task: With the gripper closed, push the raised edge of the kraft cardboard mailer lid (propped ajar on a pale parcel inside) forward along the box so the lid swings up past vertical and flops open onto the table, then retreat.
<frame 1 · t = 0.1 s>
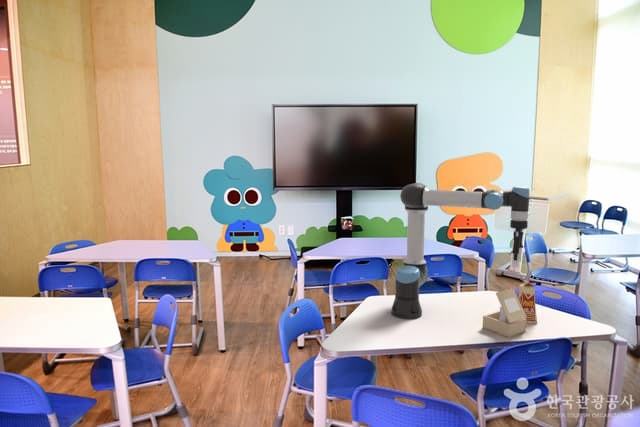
hand: (516, 264, 230), 28 cm above the table, fingers open, 13 cm apart
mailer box: (503, 330, 221), on the table
lid: (511, 305, 217), point 13 cm above the table, hinge at 57.0°
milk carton: (525, 319, 236), on the table
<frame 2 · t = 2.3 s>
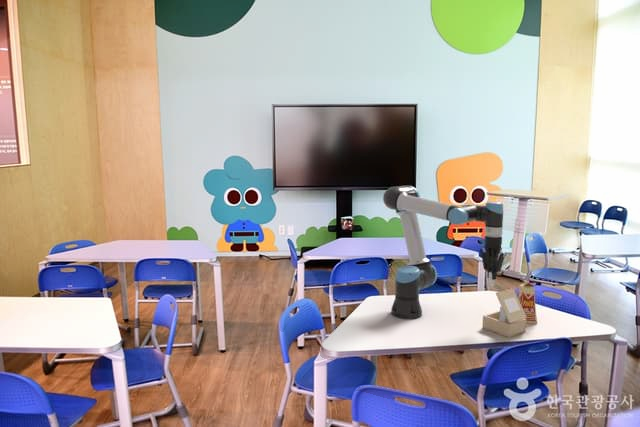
hand: (491, 285, 225), 19 cm above the table, fingers closed
nothing on the table moved.
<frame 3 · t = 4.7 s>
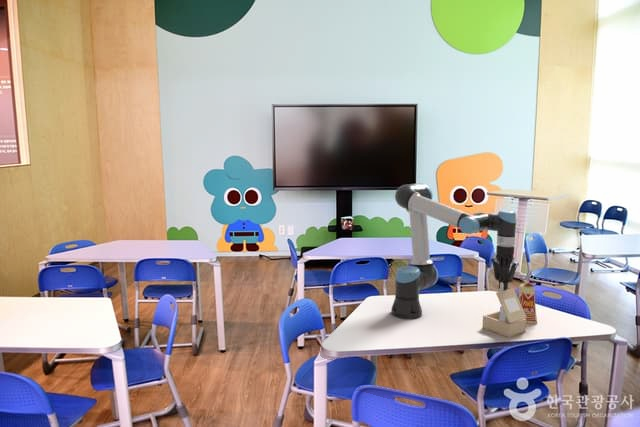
hand: (502, 296, 221), 16 cm above the table, fingers closed
lid: (511, 305, 217), point 13 cm above the table, hinge at 57.7°, touching gripper
everything else where it was.
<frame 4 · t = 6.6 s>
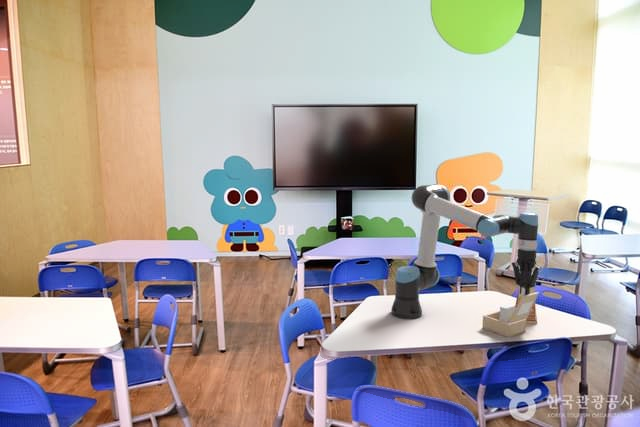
hand: (524, 301, 212), 16 cm above the table, fingers closed
lid: (524, 307, 212), point 13 cm above the table, hinge at 110.7°, touching gripper
everything else where it was.
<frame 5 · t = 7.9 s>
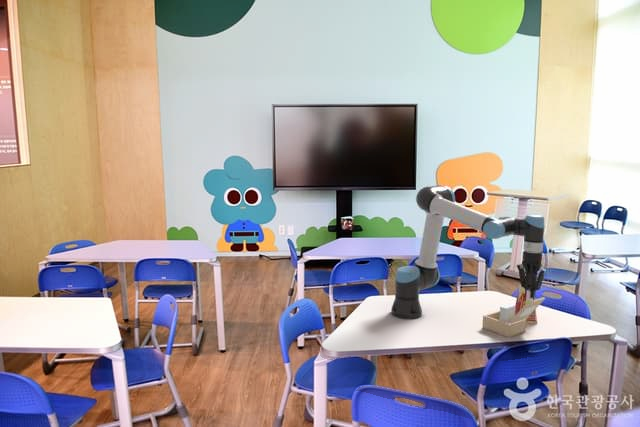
hand: (529, 304, 210), 15 cm above the table, fingers closed
lid: (527, 310, 211), point 12 cm above the table, hinge at 125.1°, touching gripper
everything else where it was.
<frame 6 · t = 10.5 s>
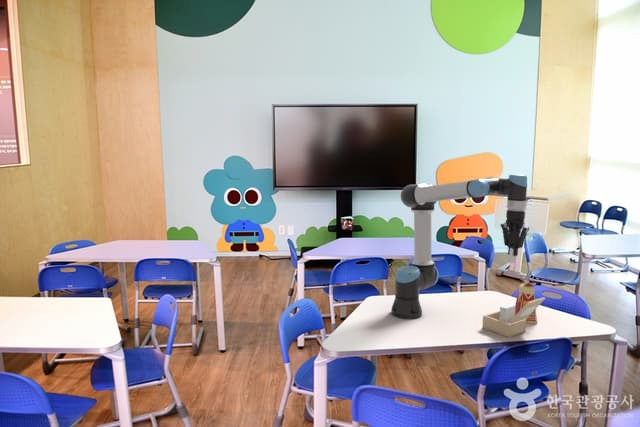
hand: (512, 262, 215), 32 cm above the table, fingers closed
lid: (527, 310, 211), point 12 cm above the table, hinge at 125.2°
everything else where it was.
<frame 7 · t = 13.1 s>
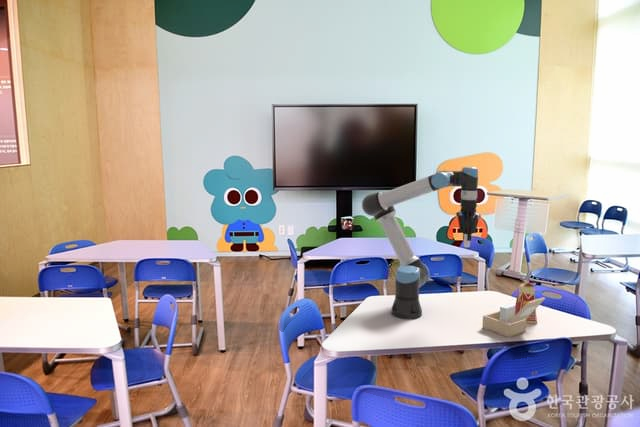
hand: (466, 246, 238), 34 cm above the table, fingers closed
nothing on the table moved.
at the end: lid at +125° (first picture: +57°) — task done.
